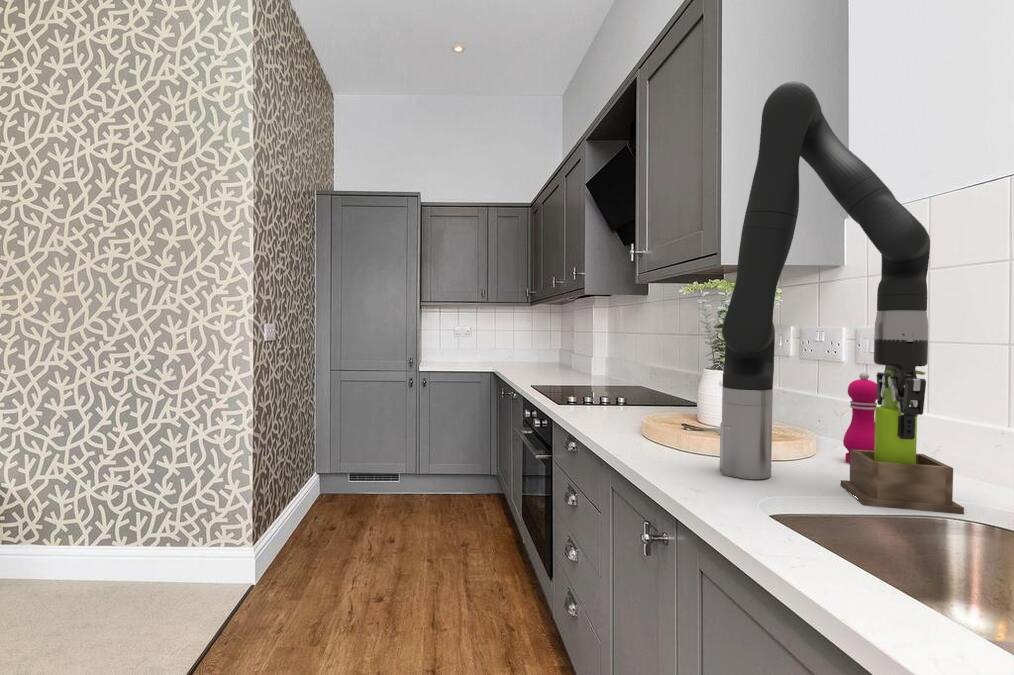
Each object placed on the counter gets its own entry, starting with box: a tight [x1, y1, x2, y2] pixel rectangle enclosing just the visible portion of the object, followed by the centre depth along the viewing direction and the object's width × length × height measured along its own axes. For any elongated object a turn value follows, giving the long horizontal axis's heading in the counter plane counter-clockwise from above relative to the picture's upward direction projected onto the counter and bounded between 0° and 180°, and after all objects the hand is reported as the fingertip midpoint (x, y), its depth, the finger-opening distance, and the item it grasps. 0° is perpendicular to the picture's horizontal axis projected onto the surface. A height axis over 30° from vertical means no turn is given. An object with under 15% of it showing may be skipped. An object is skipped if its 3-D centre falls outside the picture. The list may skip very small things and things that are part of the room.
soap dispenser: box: [874, 369, 926, 464], centre depth 94 cm, size 6×7×20 cm
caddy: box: [840, 449, 965, 515], centre depth 94 cm, size 14×12×7 cm
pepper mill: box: [842, 371, 878, 465], centre depth 119 cm, size 7×7×20 cm
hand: (898, 434), depth 94 cm, fingers closed on soap dispenser, 6 cm apart
